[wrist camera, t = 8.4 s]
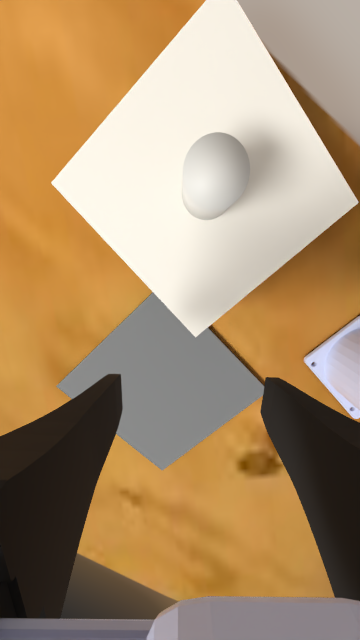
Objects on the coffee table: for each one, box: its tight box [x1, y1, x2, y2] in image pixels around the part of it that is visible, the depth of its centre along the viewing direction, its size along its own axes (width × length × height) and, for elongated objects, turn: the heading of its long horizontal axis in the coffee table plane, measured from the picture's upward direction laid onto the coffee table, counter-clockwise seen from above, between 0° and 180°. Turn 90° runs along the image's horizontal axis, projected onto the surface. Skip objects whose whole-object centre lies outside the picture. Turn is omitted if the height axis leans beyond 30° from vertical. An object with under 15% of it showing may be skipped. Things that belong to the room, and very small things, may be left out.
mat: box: [56, 293, 265, 470], centre depth 23 cm, size 15×15×1 cm
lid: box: [52, 0, 359, 337], centre depth 12 cm, size 13×13×4 cm
